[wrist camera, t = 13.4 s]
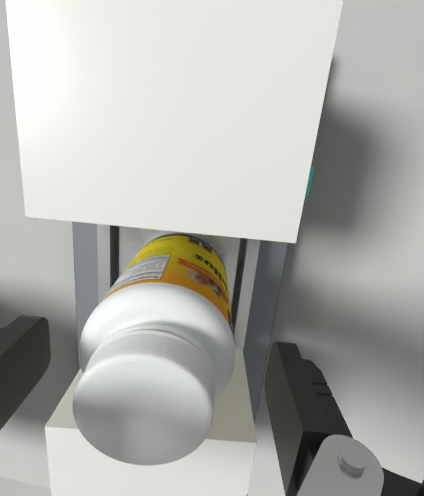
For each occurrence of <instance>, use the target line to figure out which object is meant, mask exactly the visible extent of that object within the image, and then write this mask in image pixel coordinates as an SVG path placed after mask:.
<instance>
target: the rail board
mask: <svg viewBox="0 0 424 496" xmlns="http://www.w3.org/2000/svg"><path fill="white" fill-rule="evenodd" d="M72 227H73V250H74V273H75V296H76V319H77V342H78V365H79V370H80V368H81V366H80V361H79V344H80V338H81V334H82V331H83V328H84V326H85V324H86V322H87V320H88V319H89V317H90V315H91V314H92V312H93V311H94V309H95V308H96V307H97V305H98V249H97V224H94V223H84V222H74V221H72ZM244 241H245V238H240V246H239V253H238V261H237V268H236V275H235V283H234V290H233V298H232V305H231V317H232V325H233V320H234V313H235V305H236V298H237V291H238V284H239V277H240V270H241V262H242V255H243V248H244ZM287 246H288V242H278V241H268V240H260V246H259V253H258V259H257V265H256V272H255V278H254V285H253V291H252V297H251V304H250V310H249V316H248V323H247V329H246V336H245V342H244V348H243V355H244V362H245V368H246V375H247V382H248V388H249V395H250V401H251V408H252V414H253V421H254V423H255V418H256V412H257V407H258V401H259V396H260V391H261V385H262V380H263V375H264V369H265V364H266V359H267V353H268V348H269V343H270V337H271V332H272V326H273V321H274V316H275V310H276V305H277V300H278V294H279V289H280V284H281V278H282V273H283V267H284V262H285V257H286V251H287ZM118 278H119V226H117V280H118Z"/></svg>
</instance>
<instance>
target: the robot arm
mask: <svg viewBox="0 0 424 496" xmlns="http://www.w3.org/2000/svg"><path fill="white" fill-rule="evenodd" d="M50 356H51V353H50V339H49V326H48V320H47V319H46V318H45V317H35V316H25V315H22V316H20V317H18V318H17V319H16V320H15V321H14V322H12V323H11V324H10V325H9V326H8V327H6V328H2V329H0V430H1V428H2V427H3V426H4V425H5V423H6V422H7V421H8V420H9V418H10V417H11V416H12V414H13V413H14V412H15V411H16V409H17V408H18V407H19V405H20V404H21V403H22V402H23V400H24V399H25V398H26V396H27V395H28V394H29V393H30V391H31V390H32V389H33V387H34V386H35V385H36V384H37V382H38V381H39V380H40V379H41V377H42V376H43V375H44V373H45V372H46V370H47V368H48V365H49V362H50ZM265 394H266V400H267V405H268V410H269V415H270V420H271V425H272V430H273V435H274V440H275V445H276V450H277V455H278V460H279V465H280V470H281V475H282V480H283V485H284V490H285V495H286V496H424V480H423V482H422V484H421V483H418V482H416V481H413V480H411V479H408V478H405V477H403V476H400V475H398V474H395V473H393V472H390V471H388V470H386V469H384V468H382V467H381V465H380V463H379V461H378V460H377V458H376V457H375V456H374V454H373V453H372V452H371V451H370V450H369V449H368V448H367V447H366V446H364V445H363V444H362V443H360V442H359V441H357V440H355V439H353V437H352V435H351V433H350V431H349V428H348V426H347V424H346V422H345V420H344V418H343V416H342V414H341V412H340V409H339V407H338V405H337V403H336V401H335V399H334V397H332V393H331V390H330V388H329V386H327V382H326V380H325V378H324V376H323V374H322V372H321V370H320V369H319V368H318V367H317V366H316V365H315V364H314V363H313V362H312V361H311V360H305V359H302V357H301V355H300V352H299V350H298V348H297V345H296V344H294V343H284V342H273V344H272V348H271V353H270V358H269V363H268V368H267V373H266V379H265Z"/></svg>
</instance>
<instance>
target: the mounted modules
mask: <svg viewBox="0 0 424 496" xmlns="http://www.w3.org/2000/svg"><path fill="white" fill-rule="evenodd" d="M342 4H343V0H6V10H7V21H8V32H9V43H10V54H11V64H12V75H13V86H14V97H15V108H16V119H17V130H18V141H19V151H20V162H21V173H22V184H23V195H24V206H25V217H33V218H43V219H53V220H63V221H74V222H84V223H94V224H104V225H115V226H125V227H135V228H145V229H155V230H166V231H176V232H186V233H196V234H207V235H217V236H227V237H237V238H247V239H258V240H268V241H278V242H288V243H296V240H297V235H298V230H299V224H300V219H301V214H302V209H303V204H304V199H305V197H308V198H309V194H310V189H311V184H312V179H313V174H314V169H315V167H311V163H312V158H313V153H314V148H315V142H316V137H317V132H318V127H319V122H320V117H321V112H322V106H323V101H324V96H325V91H326V86H327V81H328V76H329V71H330V65H331V60H332V55H333V50H334V45H335V40H336V35H337V30H338V24H339V19H340V14H341V9H342ZM82 375H83V373H82V370H81V368H80V370H79V372H78V373H77V375H76V376H75V378H74V380H73V381H72V383H71V385H70V386H69V388H68V390H67V391H66V393H65V394H64V396H63V398H62V399H61V401H60V403H59V404H58V406H57V407H56V409H55V411H54V412H53V414H52V416H51V417H50V419H49V420H48V422H47V424H46V425H45V434H46V445H47V456H48V467H49V478H50V489H51V496H247V491H248V486H249V481H250V476H251V471H252V466H253V460H254V455H255V450H256V445H257V441H256V434H255V427H254V421H253V414H252V408H251V401H250V395H249V388H248V382H247V375H246V368H245V362H244V355H243V349H235V366H234V371H233V375H232V378H231V380H230V383H229V384H228V386H227V388H226V389H225V391H224V392H223V394H222V395H221V396H220V398H219V399H218V400H217V401H216V402H215V403H214V416H213V422H212V426H211V429H210V431H209V433H208V435H207V437H206V438H205V440H204V441H203V442H202V444H201V445H200V446H199V447H198V448H197V449H196V450H194V451H193V452H192V453H190V454H189V455H187V456H185V457H183V458H181V459H179V460H177V461H174V462H171V463H166V464H161V465H152V466H145V465H133V464H128V463H124V462H121V461H118V460H115V459H113V458H110V457H108V456H106V455H104V454H103V453H101V452H100V451H98V450H97V449H96V448H94V447H93V446H92V445H91V444H90V443H89V442H88V441H87V440H86V439H85V438H84V436H83V435H82V434H81V432H80V431H79V429H78V427H77V424H76V422H75V419H74V415H73V404H72V401H73V395H74V392H75V389H76V386H77V384H78V382H79V380H80V379H81V377H82Z"/></svg>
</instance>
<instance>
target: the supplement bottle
mask: <svg viewBox="0 0 424 496" xmlns="http://www.w3.org/2000/svg"><path fill="white" fill-rule="evenodd" d="M79 361H80V366H81V370H82V373H83V375H82V377H81V379H80V380H79V382H78V384H77V386H76V389H75V392H74V395H73V401H72V404H73V415H74V419H75V422H76V424H77V427H78V429H79V431H80V432H81V434H82V435H83V436H84V438H85V439H86V440H87V441H88V442H89V443H90V444H91V445H92V446H93V447H94V448H96V449H97V450H98V451H100V452H101V453H103V454H104V455H106V456H108V457H110V458H113V459H115V460H118V461H121V462H124V463H128V464H133V465H145V466H152V465H161V464H166V463H171V462H174V461H177V460H179V459H181V458H183V457H185V456H187V455H189V454H190V453H192V452H193V451H194V450H196V449H197V448H198V447H199V446H200V445H201V444H202V442H203V441H204V440H205V438H206V437H207V435H208V433H209V431H210V429H211V426H212V422H213V416H214V403H215V402H216V401H217V400H218V399H219V398H220V396H221V395H222V394H223V392H224V391H225V389H226V388H227V386H228V384H229V383H230V380H231V378H232V375H233V371H234V366H235V340H234V333H233V325H232V317H231V308H230V300H229V291H228V283H227V276H226V270H225V266H224V263H223V261H222V259H221V257H220V255H219V254H218V253H217V251H216V250H215V249H214V248H213V247H212V246H211V245H210V244H209V243H207V242H206V241H204V240H203V239H201V238H199V237H197V236H194V235H191V234H187V233H169V234H165V235H161V236H159V237H156V238H155V239H153V240H151V241H150V242H148V243H147V244H146V245H145V246H144V247H143V248H142V249H140V251H139V252H138V254H137V255H136V256H135V257H134V259H133V260H132V261H131V263H130V264H129V265H128V267H127V268H126V269H125V270H124V272H123V273H122V274H121V276H120V277H119V278H118V280H117V281H116V282H115V283H114V285H113V286H112V287H111V289H110V290H109V291H108V293H107V294H106V295H105V296H104V298H103V299H102V300H101V302H100V303H99V304H98V305H97V307H96V308H95V309H94V311H93V312H92V314H91V315H90V317H89V319H88V320H87V322H86V324H85V326H84V328H83V331H82V334H81V338H80V344H79Z"/></svg>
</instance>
